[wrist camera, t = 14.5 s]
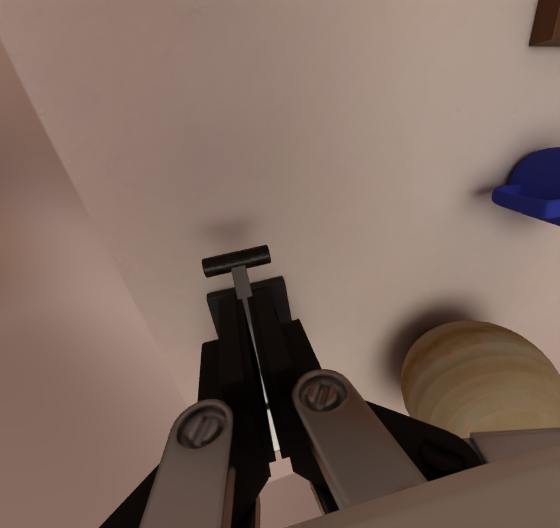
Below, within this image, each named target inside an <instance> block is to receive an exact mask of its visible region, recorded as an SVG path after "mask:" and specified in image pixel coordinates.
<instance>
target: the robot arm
mask: <svg viewBox="0 0 560 528" xmlns="http://www.w3.org/2000/svg"><path fill="white" fill-rule="evenodd" d="M252 293H253V296H251V297H247V301H248V306H249V312H250V317H251V323H252V328H253V334H254V339H255V344H256V350H257V355H258V360H257V356H256V352H255V348H254V344H253V340H252V336H251V332H250V328H249V324H248V320H247V316H246V312H245V308H244V304H243V300H242V299H238V300H236V297H235V296H233V297H228V298H224V299H220V300H219V339H217V340H213V341H209V342H205V343H203V344H202V352H201V364H200V377H199V390H198V402H197V403H195V404H193V405H192V406H190V407H188V408H187V409H186V410H185V411H183V412H182V413H181V414H180V415H179V417H178V418H177V419H176V420H175V422H174V424H173V426H172V428H171V430H170V433H169V437H168V440H167V443H166V446H165V449H164V452H163V455H162V458H161V461H160V464H159V465H158V466H157V467H156V468H155V469H154V470H153V471H152V472H151V473H150V474H149V475H148V476H147V477H146V478H145V479H144V481H142V483H141V484H140V485H139V486H138V487H137V488H136V489H135V490H134V491H133V492H132V493H131V494H130V495H129V496H128V497H127V499H126V500H125V501H124V502H123V503H122V504H121V505H120V506H119V507H118V508H117V509H116V510H115V511H114V512H113V513H112V514H111V515H110V516H109V518H108V519H107V520H106V521H105V522H104V523H103V524H102V525H101V526H100V527H99V528H260V497H259V493H260V492H261V490H262V488H263V487H264V485H265V484H266V482H267V481H268V477H271V473H270V467H269V463H270V462H274V461H276V457H275V452H274V446H273V441H272V435H271V429H270V424H269V418H268V413H267V407H266V402H265V396H264V391H263V385H264V389H265V393H266V397H267V401H268V405H269V409H270V413H271V417H272V421H273V425H274V429H275V433H276V437H277V441H278V444H279V448H280V452H281V456H282V459H284V458H287V457H290V460H291V464H292V469H293V472H295V473H297V474H298V475H300V476H302V477H304V478H305V479H307V480H309V482H310V486H311V489H312V492H313V494H314V496H315V499H316V501H317V504H318V506H319V508H320V510H321V513H322V516H320V517H317V518H314V519H311V520H307V521H304V522H301V523H298V524H295V525H292V526H289V527H286V528H560V428H559V427H556V428H539V429H522V430H505V431H489V432H472V433H470V436H469V438H460V437H459V436H457V435H455V434H453V433H451V432H449V431H447V430H444V429H442V428H439V427H436V426H433V425H431V424H428V423H425V422H422V421H420V420H417V419H414V418H412V417H409V416H406V415H403V414H401V413H398V412H395V411H393V410H390V409H387V408H384V407H382V406H379V405H376V404H373V403H371V402H368V401H365V400H364V399H363V398H362V397H361V395H360V394H359V393H358V391H357V390H356V389H355V388H354V386H353V385H352V384H351V383H350V381H349V380H348V379H347V378H346V377H345V376H344V375H342V374H340V373H338V372H336V371H333V370H328V369H321V367H320V364H319V362H318V360H317V358H316V356H315V353H314V351H313V349H312V347H311V344H310V342H309V340H308V338H307V336H306V333H305V331H304V329H303V327H302V324H301V322H300V320H299V319H296V320H292V321H288V322H284V323H280V324H279V321H278V318H277V315H276V312H275V309H274V306H273V303H272V300H271V297H270V294H269V291H268V288H266V289H262V290H258V291H254V292H252ZM258 361H259V364H258ZM259 366H260V369H259ZM260 371H261V374H260ZM261 376H262V380H261ZM262 381H263V385H262Z"/></svg>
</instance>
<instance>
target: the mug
mask: <svg viewBox="0 0 560 528" xmlns="http://www.w3.org/2000/svg"><path fill="white" fill-rule="evenodd" d="M492 201H493V202H494V203H496V204H497V205H500V206H502V207H505V208H508V209H511V210H514V211H517V212H520V213H522V214H525V215H527V216H530V217H533V218H536V219H539V220H543V221H546V222H549V223H552V224H555V225H558V226H560V147H556V148H548V149H543V150H539V151H537V152H534V153H532V154H530V155H529V156H527V157H526V158H524V159H523V160H522V161H521V162H520V163H519V164H518V165H517V167H516V168H515V169H514V171H513V173H512V175H511V177H510V180H509V183H508V185H505V186H499V187H497V188H495V189H494V190H493V192H492Z"/></svg>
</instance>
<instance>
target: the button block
mask: <svg viewBox="0 0 560 528" xmlns="http://www.w3.org/2000/svg"><path fill="white" fill-rule="evenodd" d="M529 46H560V0H539V3H538V7H537V12H536V16H535V21H534V25H533V30H532V34H531V39H530V44H529Z"/></svg>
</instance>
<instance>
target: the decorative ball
mask: <svg viewBox="0 0 560 528" xmlns="http://www.w3.org/2000/svg"><path fill="white" fill-rule="evenodd" d="M401 390H402V395H403V399H404V403H405V407H406V409H407V411H408V413H409V415H410V417H412V418H414V419H417V420H420V421H422V422H425V423H428V424H431V425H433V426H436V427H439V428H442V429H444V430H447V431H449V432H451V433H453V434H455V435H457V436H459V437H460V438H469V436H470V433H472V432H489V431H505V430H522V429H539V428H556V427H559V428H560V375H559V373H558V371H557V370H556V368H555V367H554V365H553V364H552V362H551V361H550V360H549V359H548V358H547V357H546V356H545V355H544V353H543V352H542V351H540V350H539V349H538V348H537V347H536V346H535V345H534V344H532V343H531V342H529V341H528V340H527V339H525V338H524V337H522V336H521V335H519V334H517V333H515V332H513V331H511V330H509V329H506V328H504V327H502V326H499V325H495V324H492V323H489V322H480V321H472V320H462V321H454V322H449V323H445V324H442V325H439V326H437V327H435V328H433V329H431V330H429V331H427V332H426V333H424V334H423V335H422V336H421V337H420V338H418V339H417V340H416V342H415V343H414V344H413V345H412V346H411V348H410V350H409V351H408V353H407V355H406V358H405V360H404V363H403V367H402V373H401Z"/></svg>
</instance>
